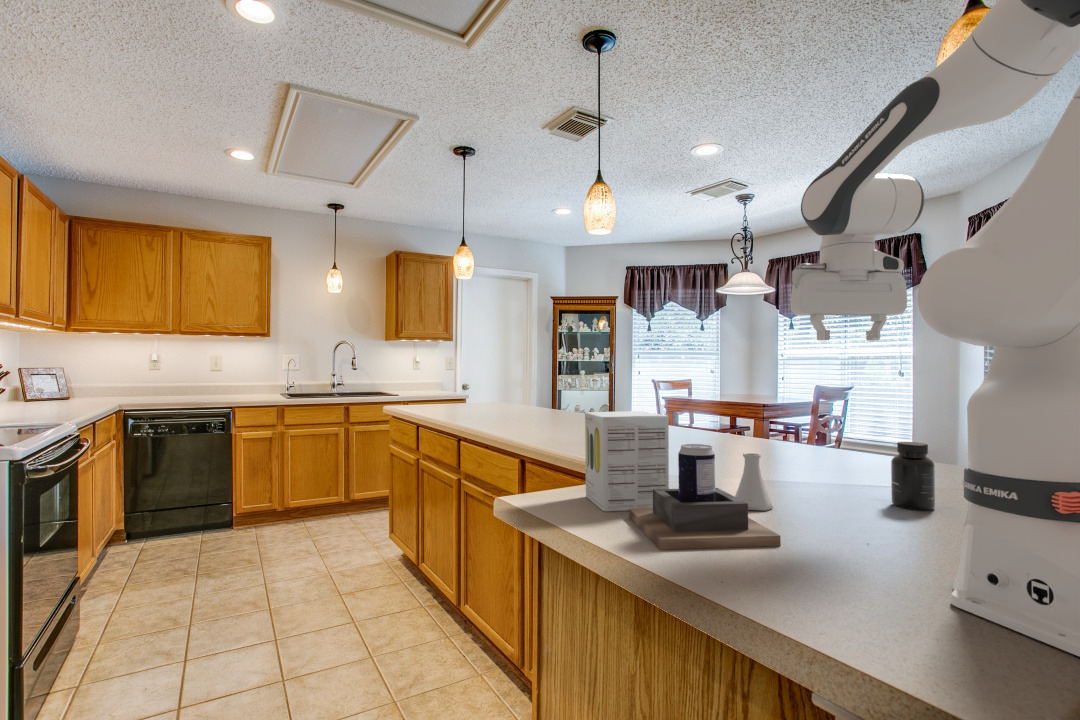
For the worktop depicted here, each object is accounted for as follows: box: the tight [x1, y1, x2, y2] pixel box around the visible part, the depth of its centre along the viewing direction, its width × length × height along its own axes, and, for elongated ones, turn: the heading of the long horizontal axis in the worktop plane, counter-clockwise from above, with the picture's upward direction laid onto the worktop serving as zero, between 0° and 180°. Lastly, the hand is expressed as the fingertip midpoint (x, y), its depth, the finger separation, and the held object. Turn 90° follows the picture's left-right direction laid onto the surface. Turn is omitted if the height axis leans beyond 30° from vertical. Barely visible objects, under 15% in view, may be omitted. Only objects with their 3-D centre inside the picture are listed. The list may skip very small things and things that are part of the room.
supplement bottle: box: [890, 441, 936, 512], centre depth 104 cm, size 7×7×12 cm
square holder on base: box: [628, 487, 782, 551], centre depth 89 cm, size 18×18×6 cm
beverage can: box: [677, 443, 716, 503], centre depth 89 cm, size 6×6×12 cm
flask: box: [734, 452, 774, 511], centre depth 104 cm, size 7×7×10 cm
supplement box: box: [584, 410, 670, 512], centre depth 108 cm, size 13×13×18 cm
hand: (848, 340), depth 99 cm, fingers open, 8 cm apart
